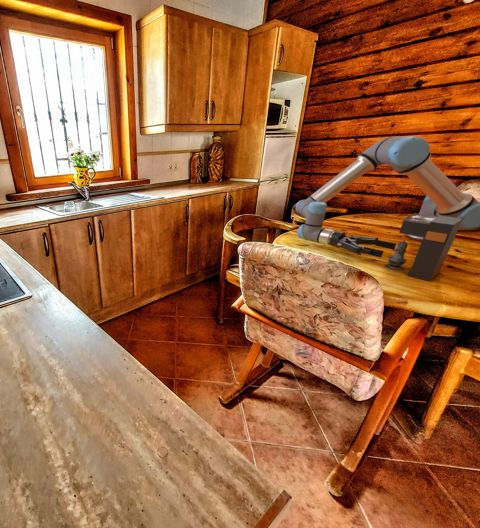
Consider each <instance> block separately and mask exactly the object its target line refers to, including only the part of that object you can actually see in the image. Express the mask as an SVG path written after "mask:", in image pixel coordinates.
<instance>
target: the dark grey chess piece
mask: <svg viewBox="0 0 480 528" xmlns="http://www.w3.org/2000/svg"><path fill="white" fill-rule="evenodd" d="M408 245H409V244H408V243H407V242H406V240H405V239H403V240H402V241H399V242H398V243H397V244H396V247H395V249H394V252H393V255H392V256H388V257H387V262H388V263H387V264H386V265H385V266H386V267H387V269H391V270H399V271H400V270H401V271H402V270H403V269H404V267H402V266H403V265H405V264H406V263H407V262H408V260H407V259H406V258H405V257H404V256H405V254H406V253H407V248H408Z"/></svg>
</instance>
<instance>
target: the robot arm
mask: <svg viewBox="0 0 480 528" xmlns="http://www.w3.org/2000/svg"><path fill="white" fill-rule="evenodd" d="M430 148H431V147H430V144H429V142H428V140H426V139H425V138H424V137H420V136H416V135H415V136H414V135H408V136H388V137H385V138H382V139H380V140H378V141H377V142H375V143H374V144H372V145H371V146H369V147H367V149H366V150H364V151H362V152H361V153H360V154H359V155H357V156H356V157H357V158H356V160H355V161H353V162H352V163H351V164H349V165H348V166H347V167H346V168H344V169H343V170H342V171H340V172H339V173H338V174H337V175H336V176H334V177H333V178H331V179H330V180H329V181H327V183H325V184H324V185H323V186H321V187H320V188H319V189H318V190H316V191H315V192H314V193H312V194H311V195H310V196H308V197H307V198H306V199H301V200H298V202H297V203H296V204H295V211H296V212H297V213H298V214H299V215H300V216H303V217H304V218H305V222H304V223H303V224H300V225H299V227H298V229H297V232H296V236H297V237H298V238H299V239H301V240H304V241H309V242H312V243H318V244H321V245H323V246H330V247H333V248H340V249H341V248H342V249H343V250H345V251H348V252H351V253H353V254H357V255H358V256H359V255H361V254H365V255H367V256H368V255H369V256H373V257H378V258H382V257H383V254H384V250H381V249H377V248H372V247H368V246H375V247H378V248H379V247H380V248H384V249H389V250H394V251H395V249H396V247H397V243H396V242H391V241H385V240H381V239H379V237H372V236H371V237H370V236H361V235H360V236H359V235H352V234H351V235H350V236H346V233H345V231H340V230H335V229H331V228H325V227H323V225H324V220H325V217H326V214H327V208H328V204H327V202H328V201H330V200H331V199H333V198H334V197H335V196H337V195H338V194H340V193H341V192H342V191H343V190H345V189H346V188H347V187H349V186H350V185H352V183H354V182H355V181H357V180H358V179H359V178H361V177H362V176H363V175H365V174H366V173H368V172H369V171H374V170H376V168H378V167H380V166H383V165H388V166H389V167H391V168H392V169H393V170H394V171H395V172H396V173H397V174H399V175H404V174H405V175H406V176H407V177H408V178H409V179H410V180H411V181H412V182H413V183H414V184H415V185H416V186H417V187H418V188H419V189H420V190H421V191H422V192H423V194H425V195H426V196H425V197H424V199H423V200H422V204H421V208H420V210H419V212H418V214H424V215H432V216H446V217H454V218H462V219H463V220H462V223H461V225H460V227H459V229H458V231H457V232H476V231H478V230H479V229H480V201H478V200H477V199H476V198H475V197H474V196H473V195H472V194H471V193H470V192H462V191H461V190H460V188H459V187H457V185H455V183H454V182H453V181H451V179H450V178H448V177H447V175H445V174H444V172H443V171H442V170H441V169H439V167H437V165H436V164H435V163H434V162H433V161H432V160H431V159H430V158H431V156H432V153H431V152H430ZM405 237H407V238H408V239H411V240H415V241H419V242H422V240H423V238H424V237H419V236H414V235H408V234H405ZM362 245H366V246H362ZM367 245H368V246H367Z"/></svg>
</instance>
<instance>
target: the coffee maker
mask: <svg viewBox="0 0 480 528" xmlns="http://www.w3.org/2000/svg"><path fill="white" fill-rule="evenodd" d="M462 220H463V219H462V218H454V217H446V216H432V215H424V214H419V213H416V212H414V213H412V214H410V215H408V216H406V217H404V218H403V219H402V223H401V227H400V228H399V232H398V234H403V235H406V234H408V235H414V236H419V237H424V238H423V240H422V241H421V243H420V246H419V247H418V250H417V253H416V255H415V257H414V260H413V262H412V264H411V267H410V270H409V272H408V274H407V275H408V277H412V278H414V279H419V280H422V281H426V282H430V281H432V279H435V277H436V276H437V275H438V274H439V273H440V272H441V269H442V267H443V265H444V262H445V260H446V258H447V256H448V254H449V251H450V250H451V247H452V245H453V242H454V240H455V238H456V235H457V234H458V232H459V231H458V230H460V228H459V227H460V225H461V223H462Z"/></svg>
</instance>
